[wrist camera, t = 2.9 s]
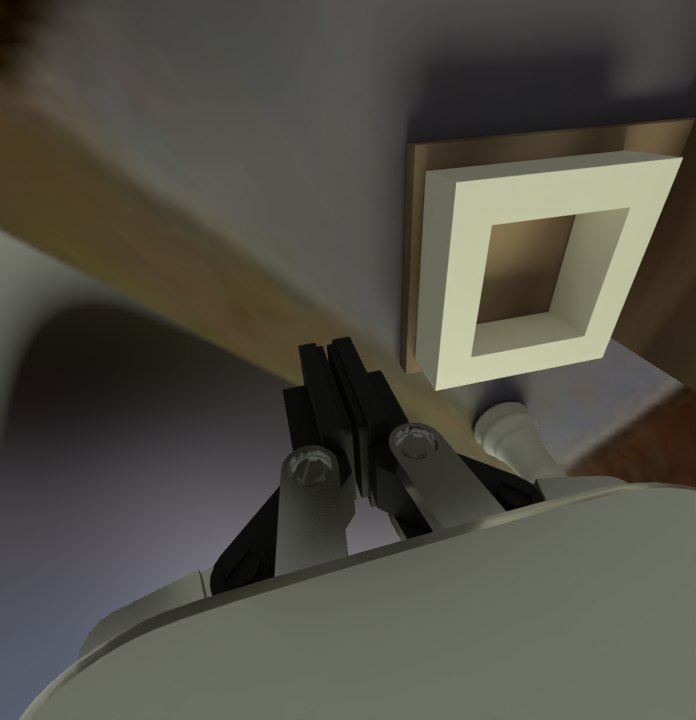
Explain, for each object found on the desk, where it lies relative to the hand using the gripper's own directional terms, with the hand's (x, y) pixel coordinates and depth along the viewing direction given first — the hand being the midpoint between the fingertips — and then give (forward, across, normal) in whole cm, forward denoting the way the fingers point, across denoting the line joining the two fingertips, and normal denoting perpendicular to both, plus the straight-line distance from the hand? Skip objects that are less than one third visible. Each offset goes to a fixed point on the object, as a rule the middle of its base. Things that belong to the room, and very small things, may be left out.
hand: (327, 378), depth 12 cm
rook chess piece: (+8, -14, +13) cm, 21 cm away
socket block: (+7, -11, 0) cm, 13 cm away
